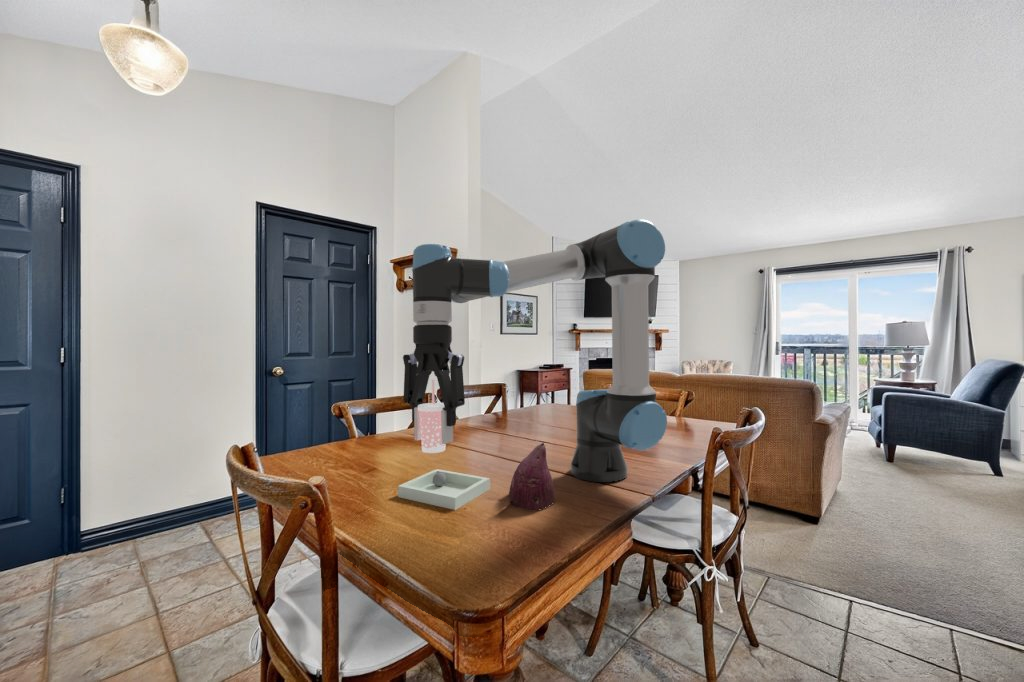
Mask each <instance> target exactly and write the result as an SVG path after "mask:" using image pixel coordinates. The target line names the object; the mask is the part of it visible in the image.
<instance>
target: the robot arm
mask: <svg viewBox="0 0 1024 682" xmlns="http://www.w3.org/2000/svg"><path fill="white" fill-rule="evenodd" d="M412 254H413V255H412V268H411V272H412V298H413V299H412V308H413V309H412V315H413V318H412V321H413V323H416V325H414V326H413V327H412V328H413V329H412V330H413V335H412V337H413V339H412V340H413V341H412V342H413V343H414V344H415V348H414V351H413V352H412V353H410V354H403V356H402V360H403V364H404V375H403V376H404V378H403V380H404V381H403V403H404V404H408V405H410V406H411V421H412V423H414V426H413V427H414V428H413V429H414V441H418V442H419V441H421V429H420V415H419V410H418V405H420V404H425V403H426V402H424V401H425V400H424V399H425V395H426V391H427V387H428V384H429V383H428V382H429V378H430V375H431V374H432V373H433V374H434V376H435V377H436V379H437V380H436V381H437V384H438V387H439V390H440V394H441V398H442V403H444V406H445V407H444V408H443V410H441V432H442V444H449V443H452V442H454V426H455V425H456V423H457V413H456V412H457V409H458V408H459V407H462V406H464V405H465V402H466V401H465V388H464V387H465V386H464V371H463V365H464V363H465V356H464V355H463V354H457V353H454V352H453V351H452V348H451V344H452V341H453V335H452V334H453V333H452V331H453V329H452V326H451V325H449V323H452V321H453V315H452V314H453V313H452V302H453V303H457V304H464V303H467V302H470V301H474V300H478V299H484V298H486V297H488V298H495V297H503V296H504V295H505V294H506V293H510V292H514V291H518V290H523V289H527V288H532V287H536V286H543V285H546V284H549V283H550V284H551V283H555V282H559V281H563V280H568V279H571V280H572V281H575V282H576V281H581V280H587V279H595V278H599V279H601V278H604V279H605V280H604V281H605V282H606V283H607V284H608V285H609V286H610V287H611V341H612V343H611V346H612V347H611V350H612V354H611V355H612V356H611V357H612V364H611V365H612V384H611V385H610V386H609V387H608V388H606V389H591V390H590V389H589V390H588V389H587V390H580V391H578V393H577V394H576V403H575V406H576V447H575V450H574V453H573V456H572V460H571V462H570V474H571V475H572V476H573V477H575V478H577V479H580V480H583V481H587V482H594V483H595V482H596V483H612V481H615V482H619V481H618V480H620V481H623V480H624V478H625V479H626V478H627V477H628V465H627V463H626V460H625V459H626V458H625V456H624V453H623V450H622V447H621V446H624V447H625V448H628V449H633V450H636V451H646V450H647V451H648V450H650V449H652V448H654V447H655V446H657V445H658V444H659V441H660V440H662V439H663V437H664V436H665V434H666V431H667V427H668V417H667V413H666V410H665V409H663V406H661V405H660V404H659V403H658V402H657V391H656V390H655V389H654V388H653V387H652V386H651V385H650V334H649V331H650V329H649V326H650V325H649V323H650V320H649V318H650V317H649V313H650V312H649V285H650V283H652V282H653V280H654V279H655V275H656V273H655V272H656V267H657V266H658V265H659V264H660V263H661V262H662V260H663V259H664V257H665V254H666V244H665V239H664V236H663V234H662V233H661V231H660V229H657V226H656V225H655V224H653V223H652V222H651V221H649V220H646V219H633V220H631V221H626V222H623V223H621V224H620V225H618V226H615V227H613V228H611V229H608V230H605V231H603V232H600V233H598V234H596V235H594V236H592V237H590V238H588V239H586V240H583V241H581V242H578V243H577V242H576V243H574V244H573V243H572V244H569V245H567V246H566V248H565V249H562V250H559V251H558V250H556V251H553V252H546V253H542V254H536V255H532V256H531V255H530V256H526V257H521V258H515V259H511V260H505V261H497V260H493V259H489V260H488V259H472V258H471V259H469V258H458V257H453V254H452V250H451V248H450V247H449V246H448V245H442V244H436V243H424V244H420V245H417V246H416V247H415V248H414V249H413V252H412ZM449 364H450V365H449ZM622 479H623V480H622Z"/></svg>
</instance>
